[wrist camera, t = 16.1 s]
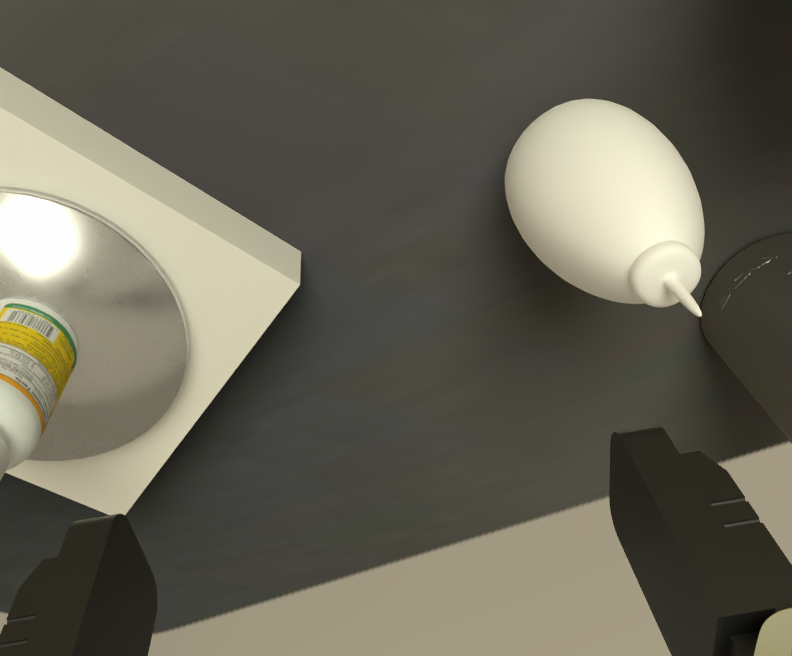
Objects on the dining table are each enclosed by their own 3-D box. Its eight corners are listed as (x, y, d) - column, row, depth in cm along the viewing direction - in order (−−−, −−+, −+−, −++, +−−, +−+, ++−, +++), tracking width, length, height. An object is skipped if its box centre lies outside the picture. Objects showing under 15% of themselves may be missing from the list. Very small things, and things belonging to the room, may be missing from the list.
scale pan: (246, 297, 39) (245, 304, 38) (104, 491, 45) (101, 500, 44) (-71, 117, 33) (-79, 122, 32) (-187, 368, 39) (-196, 377, 38)
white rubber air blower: (456, 151, 41) (543, 322, 25) (569, 42, 38) (740, 159, 23) (545, 242, 44) (669, 441, 29) (654, 147, 42) (853, 309, 26)
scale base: (301, 251, 43) (300, 284, 39) (130, 481, 50) (117, 525, 47) (-59, 31, 35) (-98, 49, 32) (-196, 340, 43) (-240, 381, 39)
